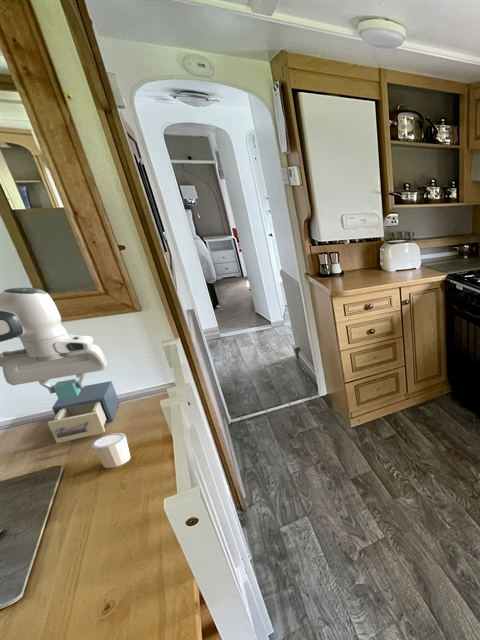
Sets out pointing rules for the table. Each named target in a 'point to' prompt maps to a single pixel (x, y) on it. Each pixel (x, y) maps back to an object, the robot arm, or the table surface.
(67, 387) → the teal cube
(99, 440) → the white faceted cup
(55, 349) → the robot arm
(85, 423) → the drawer
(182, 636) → the table surface
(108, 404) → the blue drawer cabinet
